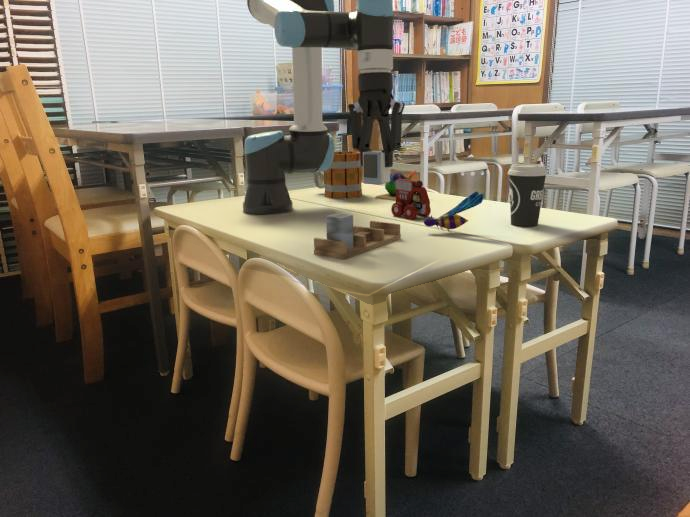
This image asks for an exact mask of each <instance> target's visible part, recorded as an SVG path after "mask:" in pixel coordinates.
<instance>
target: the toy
mask: <svg viewBox="0 0 690 517" xmlns="http://www.w3.org/2000/svg"><path fill="white" fill-rule="evenodd" d="M484 198H485V193H480V194H479V191H474V192H472V193H471V194H470V195H468V196H467V197H465V198H464V199H463V200H462V201H460V202H459V203H458V204H457V205H456V206H455V207H453V208H451V209H450V210H449V211H447V212H445V213H444V214H442V215H440V216H439V217H438V218H433V215H432V214H430V217H428V218H426V219H425V220H424V221H423V224H424V225H425V226H426V227H430V228H431V227H433V226H436V228H439V227H440V229H441V231H444V229H446V230H447V231H448V232H449V233H450V232H451V231H450V230H454V229H458V228H459V227H461V226H463V225H465V224H466V223H468V222H469V220H468V219H466V218H464V216H461V215H459V214H460V213H462V212H465V211H467V210H470V209H472V208H475V207H476V206H478V205H480V204H482V202H483V201H484Z"/></svg>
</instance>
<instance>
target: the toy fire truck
mask: <svg viewBox="0 0 690 517" xmlns="http://www.w3.org/2000/svg"><path fill="white" fill-rule="evenodd" d="M395 188H396V201H395V202H394V203H392V204H391V209H390V211H391V214H392V215H393V217H397V218H400V217H403V215H404V218H406V220H415V219H417V216H420V217H422V218H423V217H424V218H426V217H428V216H431V212H432V210H431V202H430V198H429V195H428V192H427V189H426V187H424V183H423V181H422V180H420V179H419V180H412V179H411V180H406V179H397V180H396V181H395Z"/></svg>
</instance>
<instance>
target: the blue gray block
mask: <svg viewBox="0 0 690 517" xmlns="http://www.w3.org/2000/svg"><path fill="white" fill-rule="evenodd" d="M363 153H364V154H363V162H364V182H363V184H366V185H384V184H386V183H388V182H385V183H381V154H380V153H383V152H382V151H381V150H370V151H367V152H363Z"/></svg>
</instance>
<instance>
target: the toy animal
mask: <svg viewBox="0 0 690 517" xmlns="http://www.w3.org/2000/svg"><path fill="white" fill-rule="evenodd" d="M416 172H417V170H414V171H413V172H412V173H410V174H409V175H407V176H405V175H404V174H403V173H402V172H395V170H392V173H390V182H388V183H385V186H384V189H385V190H386V192H387V193H383V194H380V195H376V196H374V199H376V200H377V199H378V200H386V201H395V202H396V188H395V181H396V180H397V179H406V180H412V178H413V177H414V175H415V174H416Z"/></svg>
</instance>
